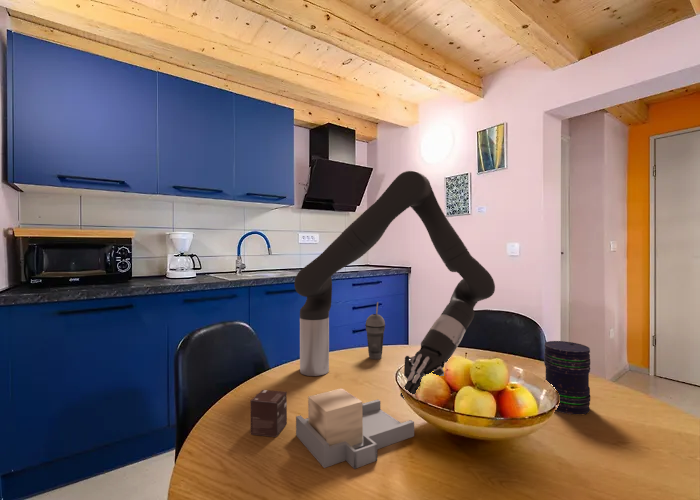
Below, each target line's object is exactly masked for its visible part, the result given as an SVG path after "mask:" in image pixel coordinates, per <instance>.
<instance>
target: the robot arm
mask: <svg viewBox="0 0 700 500" xmlns="http://www.w3.org/2000/svg"><path fill="white" fill-rule="evenodd" d="M409 208H411V209H412V210H413V211H414V212H415V213H416V215H417V216H418V217H419V219H420V221H422V223H423V225H424V227H425V229H426V231H427V233H428V235H429V238H430V241H431V242H432V246H433V247H434V249H435V251H436V252H437V254H438V256H439V257H440V260H441V261H442V262H443V263H444V265H445V267H446V268H447V269H448V271H449V272H450V273H458V275H459V276H460V277H462V279H461V280H460V281H459V282H458V283H457V285H456V286H455V287H454V290H453V293H452V294H451V298H450V300H449V302H448V303H447V305H446V307H445V308H444V309H443V311H442V312H441V314H440V315H439V317H438V318H437V319H436V320H435V321H434V323H433V324H432V325H431V327H430V329H429V330H428V331H427V333H426V335H425V336H424V338H423V339H422V340H421V342H420V349H419V350H417V352H416V353H415V355H413V356H411V357H410V355H406V356H405V357H404V368H403V371H404V372H403V376H404V377H405V378H406V380H407V382H406V383H405V385H404V386H403V388H404V387H405V389H406V390H408V391H409V392H410V393H412V394H415V393H416V390H417V389H418V387H419V385H420V382H421V379H422V377H423V376H426V374H429V373H431V372H432V371H434V372H432V373H433V374H436V375H439V376H444V373H445V370H444V367H445V363H446V364H447V363H448V362H449V361H448V359H449V358H450V357H451V358H452V356H453V354H454V353H455V351H456V350H457V348H458V346H459V345H460V343H461V341H462V340H463V337H464V335H465V333H466V331H467V329H468V328H469V326H470V325H471V323H472V321H473V320H474V317H475V310H474V309H475V306H476V305H477V304H478V303H479V302H480V301H483V300H484V301H485V300H487V299H489V298H491V297H492V296H493V295H494V293H495V290H496V285H495V281H494V278H493V277H492V275H491V273H490V272H489V271H488V270H487V269H486V268H485V267H484V266H483V265H482V264H481V263H480V262H479V261H478V260H477V259H476V258H474V256H473V255H472V254H471V253H470V252H469V249H468V248H467V246H466V245H465V244H464V242H463V241H462V238H461V237H460V235H458V233H457V231H456V230H455V229H454V227H453V226H452V224H451V223H450V221H449V220H448V218H447V216H446V215H445V213H444V212H443V210H442V208H441V206H440V204H439V202H438V200H437V198H436V195H435V193H434V190H433V187H432V185H431V183H430V180H429V179H428V178H427V176H425V175H424V174H422V173H420V172H419V171H416V170H412V169H411V170H406V171H403V172H402V173H399V175H397V177H395V178H394V179H393V181H392V182H391V183H390V184H389V186H388V187H387V188H386V189H385V190H384V192H383V193H382V194H381V196H379V198H378V199H377V200H376V201H375V202H373V204H372V205H370V206H369V207H368V208H367V209H366V210H364V212H362V213H361V215H359V216H358V217H357V218H356V219H355V220H354V221H352V222H351V223H350V224H349V225H348V226H347V227H346V229H344V230H343V231H342V233H340V234H339V236H338V237H336V239H334V240H333V241H332V242H331V243H330V245H328V246H327V248H325V250H323V252H321V254H320V255H318V256H317V257H316V258H314V259H313V260H312V261H311V262H309V263H308V264H307V265H305V266H304V267H303V268H302V269H300V270H299V272H298V273H297V274H296V276H295V278H294V289H295V291H296V293H297V295H300V296H302V297H304V298H306V300H305V303H304V304H303V306H302V307H300V310H299V373H300V374H301V375H303V376H306V377H307V376H308V377H309V376H310V377H318V376H323V375H326V374H328V373H329V372H330V311H331V307H332V300H333V299H332V298H333V279H332V276H333V275H334V274H336V273H337V272H339V271H340V270H342V269H344V268H345V267H347V266H349V265H352V263H354V262H356V261H357V260H359V259H361V257H363V256H364V255H365V254H367V252H369V251H370V250H371V249H372V248H373V247H374V246H375V245H377V243H378V242H379V240H380V239H381V238H382V236H383V235H384V233H385V232H386V230H387V229H388V227H389V226H390V224H392V222H393V221H394V220H395V219H396V218H397V217H398V216H400V215H401V214H402V213H404V212H405V211H406V210H407V209H409ZM451 358H450V359H451ZM450 359H449V360H450ZM447 361H448V362H447ZM418 390H419V389H418ZM416 394H417V393H416ZM416 394H415V395H416ZM399 396H400V397H401V398H402V399H403V400H405V399H404V397H403V395H402V393H401V392H400V395H399ZM405 401H406V400H405Z"/></svg>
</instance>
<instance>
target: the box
mask: <svg viewBox="0 0 700 500" xmlns="http://www.w3.org/2000/svg"><path fill="white" fill-rule="evenodd" d="M287 404H288V403H287V391H281V390H270V389H269V390H267V389H266V390H265V389H264V390H261V391H260V392H258V393H257V394H256V395H255V396H254V397H252V398H251V400H250V435H253V436H263V437H264V436H265V437H273V438H276V437H278V436H279V434H280V433H282V431H283V430H284V428H285V427H286V426H287V424H288V418H287V417H288V413H287V411H288V406H287Z"/></svg>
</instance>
